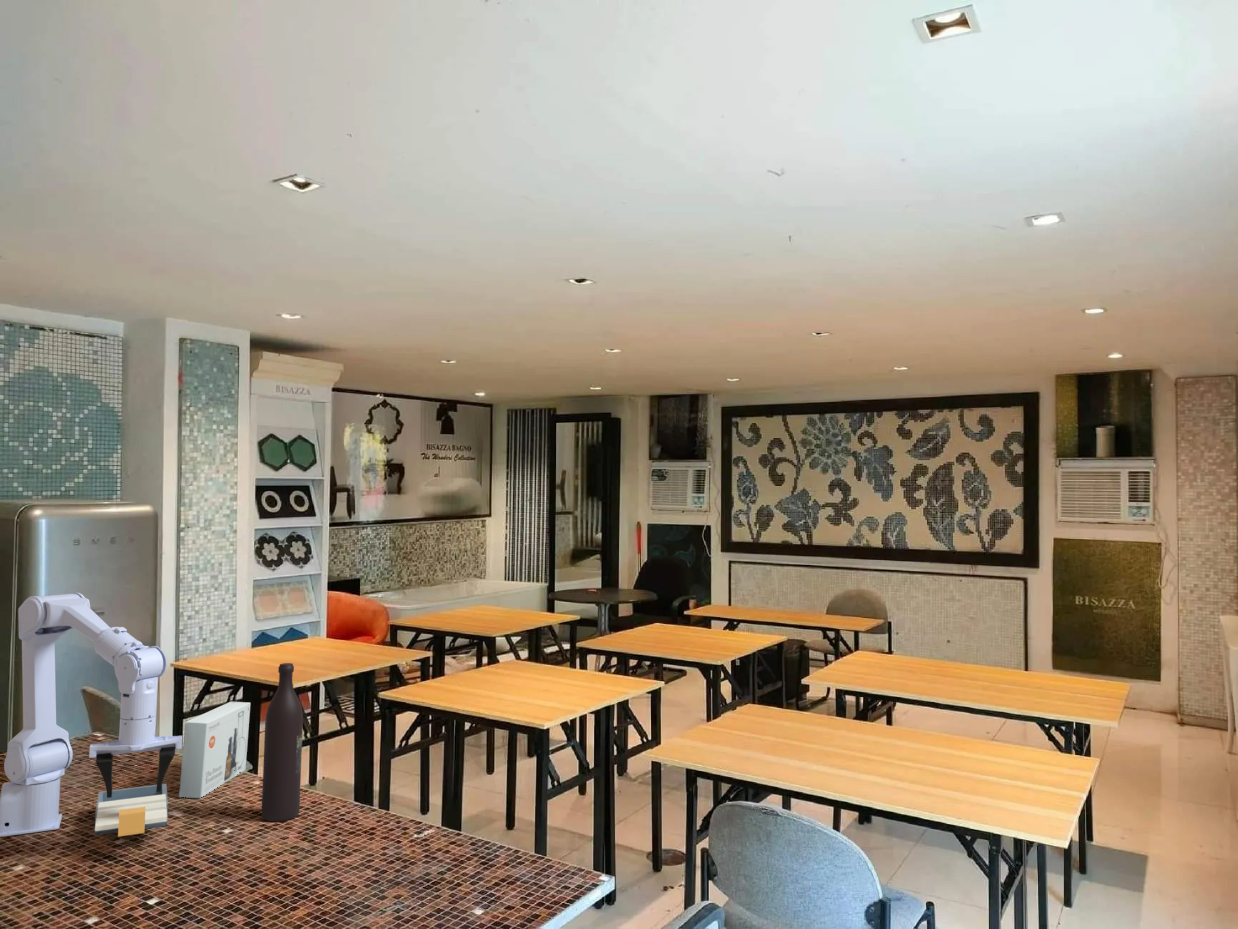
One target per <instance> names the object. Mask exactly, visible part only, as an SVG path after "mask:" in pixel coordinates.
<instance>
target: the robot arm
mask: <svg viewBox="0 0 1238 929" xmlns="http://www.w3.org/2000/svg"><path fill="white" fill-rule="evenodd" d="M17 612H18V615H17V616H18V618H17V619H18V638H19V640H21V662H22V663H21V666H22V669H21V671H22V672H21V673H22V718H23V719H22V722H23V723H22V724H23V725H22V730H20V731H19V732H18V733H17V734H16V735H15V736H14V737H12V738H11V739H10V740H9V742H8V743H7V752H6V757H5V759H4V762H3V763H4V765H3V768H4V773H5V776H6V777H7V778H8V780H9V781H8V782H3V784H2V786H1V791H0V838H1V837H9V836H15V835H16V836H17V835H24V834H31V833H39V832H47V831H53V830H54V831H55V830H58V829H59V828H60V827H61V826H60V825H61V822H62V818H63V814H62V813H59V812H60V795H61V794H60V792H61V791H60V790H61V777H63V776H64V775H65V774H66V773H65V772H66V771H65V770H67V769H68V768H69V767H70V765H71V764H72V761H73V757H74V755H73V754H74V753H73V748H72V746H71V743H70V742H71V741H70V737H69V736H70V735H69V731H67V730H66V729H64V728H63V727H60V726H59V725H58V724H57V698H56V697H57V696H56V695H57V694H56V692H57V691H56V690H57V689H56V655H55V654H56V650H55V645H56V643H57V641H59V639H60V638H61V637H62V636H63V635H65V634H67V633H68V632H70V631H72V630H75V631H76V632H78V633H79V634H81V635H83V636H84V637H86V638H87V639H89V640H90V641H92V642H93V643H94V644H93V649H94V652H95V653H96V654H97V655H98V656H100V657H102V659H104V660H105V661H106V662H107V663H109V664H110V665H111V666H113V667H114V673H115V674H114V675H115V677H116V679H117V682H118V691H119V693H121V695H120V710H119V711H120V712H119V715H120V716H119V732H118V734H119V735H118V739H116V740H111V741H104V742H98V743H91V744H90V745H89V752H88V758H89V759H91V758H95V764H96V766H97V768H98V769H99V772H100V774H101V776H102V779H103V782H104V784H105V785H104V786H105V789H106V790H105V791H107V798H111V797H112V790H113V761H114V755H120V754H123V755H124V754H130V753H141V752H143V753H144V752H153V751H159V752H158V755H159V756H158V770H157V771H158V772H157V778H156V785H157V787H156V792H160V791H161V787H162V784H164V778H165V776H166V773H167V771H168V769H169V767H170V765H171V762H173V760H174V757H175V755H176V750H183V735H171V736H170V735H169V736H167V735H166V736H165V735H164V736H156V727H157V726H156V725H157V724H156V722H157V708H158V687H159V685H158V684H159V678H160V677H162V676H163V675H164V673H166V672H165V671H166V668H167V658H166V655H165V653H164V651H163V650H162V649H161V648H160V647H159V646H156V645H152V646H149V645H145V644H143V643H142V642H141V640H138V639H137V638H135V637H134V636H133V635H131V634H130V633H129V632H127V630H128V629H127V628H125V627H124V626H113V627H110V626H109V625H108V624H107V623H106V622H105V621H104V620H103V619H102V618H101V617H100V616H99V615H97V613H96V612H95V611H94V610H92V608H91V603H90V599H89V598H86V597H85V596H84V595H83V594H82V593H80V592H71V593H66V594H54V595H53V594H52V595H51V594H50V595H42V596H41V595H40V596H37V595H34V596H33V595H31V596H29V597H27V598H26V599H25V600H24V601H23V602H22V604H21V605H20V606H19V608H18V611H17Z"/></svg>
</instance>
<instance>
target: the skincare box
mask: <svg viewBox="0 0 1238 929" xmlns="http://www.w3.org/2000/svg"><path fill="white" fill-rule="evenodd" d="M250 713H251V702H245V701H244V702H243V701H229V702H227V703H224V704H223V705H220V706H217V707H216V708H214V709H211V710H209V711H207V712H205V713H202V714H200V715H197V716H195V717H193V718H191V719H189V720H187V721H185V722H184V732H183V743H182V756H181V767H180V768H181V771H180V780H179V791H178V798H181V797H184V798H185V797H186V798H187V799H188V798H189V799H190V798H191V799H202V798H203V796H204V797H205V796H207V795H208V794H210V793H211V792H213V791H214V789H215V790H216V789H218V788H219V787H221V786H222V785H225V784H226V783H227V782H229V781H230V780H232V779H234V778H235V777H236V776H238V775H240V774H241V773H243V772H244V771H246V765H247V764H246V763H247V756H248V755H247V752H248V741H249V740H248V739H249V727H250V726H249V724H250V716H251V715H250ZM234 770H235V771H234ZM239 772H241V773H239ZM237 774H238V775H237ZM225 782H226V783H225ZM220 785H221V786H220ZM217 787H218V788H217ZM209 792H210V793H209ZM206 794H207V795H206ZM201 797H202V798H201ZM184 798H183V799H184ZM186 798H185V799H186Z"/></svg>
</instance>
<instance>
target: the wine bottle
mask: <svg viewBox="0 0 1238 929" xmlns="http://www.w3.org/2000/svg"><path fill="white" fill-rule="evenodd" d="M294 671H295V666H294V663H291V662H285V663H284V662H283V663H280V664H279V666H278V673H279V674H278V676H279V677H278V678H279V679H278V685H277V689H276V691H275V694H274V695H273V697H272V699H271V701H270V702H269V705H268V707H267V710H266V714H265V721H264V740H263V741H264V744H263V745H264V746H263V764H262V765H263V766H262V767H263V770H262V790H261V791H262V793H261V796H262V797H261V818H262V819H263V820H264V821H268V822H275V823H276V822H285V821H288V820H291V819H295V818H296V817H298V815H299V814H300V805H301V804H300V802H301V783H302V782H301V779H302V751H303V730H304V729H303V727H304V726H303V725H304V717H303V716H304V715H303V708H302V704H301V702H300V699H299V697H298V695H297V694H296V691H295V689H294V685H293V684H294V683H293V676H294V675H293V673H294Z"/></svg>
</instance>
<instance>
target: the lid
mask: <svg viewBox="0 0 1238 929" xmlns="http://www.w3.org/2000/svg"><path fill="white" fill-rule="evenodd" d="M166 821H167V822H168V815H167V806H166V794H162V795H154V796H146V797H138V798H130V799H122V800H114V801H106V802H99V805H98V811H97V818H96V825H95V824H94V830H95V831H101V830H108V829H115V828H118V832H117V833H118V834H117V837H125V836H131V835H139V834H145V829H146V828H145V824H151V823H158V822H166Z"/></svg>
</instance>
